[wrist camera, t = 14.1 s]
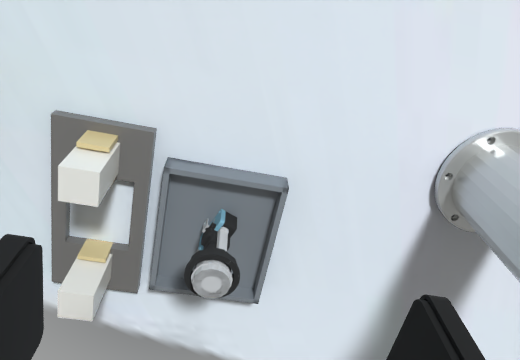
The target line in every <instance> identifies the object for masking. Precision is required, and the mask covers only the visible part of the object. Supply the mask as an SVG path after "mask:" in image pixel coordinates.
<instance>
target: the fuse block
mask: <svg viewBox="0 0 520 360" xmlns="http://www.w3.org/2000/svg"><path fill="white" fill-rule="evenodd" d="M156 129H157V128H151V127H145V126H140V125H134V124H129V123H123V122H118V121H112V120H107V119H101V118H96V117H90V116H85V115H79V114H73V113H68V112H62V111H57V110H56V111H54V112H53V113H52V114H51V216H52V282H59V283H62V284H61V286H60V288H59V290H58V317H60V318H69V319H77V320H84V321H93V319H94V316H95V314H96V312H97V309H98V307H99V305H100V302H101V300H102V297H103V295H104V293H105V290H106V289H112V290H119V291H126V292H134V293H137V292H138V289H139V286H140V276H141V267H142V258H143V249H144V239H145V230H146V221H147V212H148V203H149V193H150V184H151V175H152V166H153V157H154V147H155V138H156ZM115 179H116V180H122V181H129V182H135V183H134V194H133V205H132V216H131V227H130V238H129V245H127V244H120V243H113V242H106V241H100V240H93V239H86V238H79V237H73V236H69V218H70V203H75V204H82V205H88V206H94V207H98V206H99V205H100V203H101V201H102V200H103V198H104V196H105V195H106V193H107V191H108V190H109V188H110V187H111V186H112V184H113V182H114V181H115Z"/></svg>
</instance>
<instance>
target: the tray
mask: <svg viewBox="0 0 520 360" xmlns="http://www.w3.org/2000/svg"><path fill="white" fill-rule="evenodd" d="M288 190H289V186H288V182H287V178H284V177H279V176H273V175H267V174H261V173H255V172H250V171H244V170H238V169H232V168H227V167H221V166H215V165H209V164H203V163H198V162H192V161H186V160H180V159H175V158H169V157H168V158H167V161H166V164H165V166H164V172H163V180H162V188H161V197H160V205H159V213H158V221H157V229H156V238H155V246H154V254H153V262H152V271H151V279H150V287H149V289H152V290H159V291H166V292H174V293H181V294H189V295H196V294H194V293H193V292H192V291H191V290H190V289H189V288H188V287H187V285H186V283H185V280H184V272H185V268H186V265H187V264H188V262H189V261H190V260H191V257H192V256H193V255H194V254H195V253H196V252H197V250H198V247H199V242H200V237H201V235H202V234H203V233H204V232H202V229H203V224H204V223H205V221H206V220H207V219H209V220H208V225H210V223H211V222H212V221H213V219H214V218H215V216H216V215H217V214H218V212H219V211H220V209H223V210H225V211H226V212H228V213H230V214H232V215H234V216H235V217H237V230H236V231H235V233H234V234H233V235H232V236H231V238H230V247H229V249H228V251H227V252H228V253H229V254H230V255H231V256H233V257H234V258H235V259H236V262H237V265H238V267H239V270H240V281H239V284H238V286H237V288H236V289H235V290H234V291H233V292H232V293H231V294H229V295H227V296H225V297H222V298H218V299H225V300H233V301H240V302H247V303H255V304H258V302H259V298H260V295H261V291H262V287H263V283H264V280H265V276H266V272H267V269H268V265H269V261H270V257H271V254H272V250H273V246H274V242H275V239H276V235H277V231H278V227H279V224H280V220H281V216H282V212H283V209H284V205H285V201H286V198H287V194H288ZM205 224H206V223H205ZM194 269H195V266H194V267H193V269H192V271H194ZM231 274H233V271H232V269H231ZM196 296H198V295H196Z"/></svg>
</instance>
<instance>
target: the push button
mask: <svg viewBox="0 0 520 360" xmlns="http://www.w3.org/2000/svg"><path fill="white" fill-rule="evenodd" d="M208 220H209V219H207V220H206V221H205V223H206V224H205V223H204V224H203V229H202V232H204V233H203V234H202V235H201V237H200V242H199V247H198V250H197V252H196V253H195V254H194V255H193V256H192V257H191V260H190V261H189V262H188V264H187V265H186V268H185V272H184V280H185V283H186V285H187V287H188V288H189V289H190V290H191V291H192V292H193V293H194V294H196V295H198V296H200V297H203V298H208V299H217V298H222V297H225V296H227V295H229V294H231V293H232V292H233V291H234V290H235V289H236V288H237V286H238V284H239V281H240V270H239V267H238V265H237V262H236V259H235V258H234V257H233V256H231V255H230V254H229V253H228V252H227V251H228V249H229V247H230V238H231V236H232V235H233V234H234V233H235V231H236V230H237V217H235V216H234V215H232V214H230V213H228V212H226V211H225V210H223V209H220V211H219V212H218V214H217V215H216V216H215V218H214V219H213V221H212V222H211V223H210V225H208ZM194 266H195V269H194V271H192V269H193V267H194ZM231 269H232V271H233V274H231Z"/></svg>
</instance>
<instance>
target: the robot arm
mask: <svg viewBox="0 0 520 360" xmlns="http://www.w3.org/2000/svg"><path fill="white" fill-rule="evenodd" d="M435 199H436V203H437V206H438V208H439V210H440V211H441V213H442V214H443V216H444V217H445V218H446V219H447V220H448V221H449V222H450V223H451V224H453V225H454V226H456V227H457V228H459V229H462V230H465V231H469V232H475V233H478V235H479V236H480V237H481V238H482V239H483V240H484V242H485V243H486V244H487V245H488V246H489V247H490V249H491V250H492V251H493V252H494V253H495V254H496V255H497V257H498V258H499V259H500V260H501V261H502V262H503V264H504V265H505V266H506V267H507V268H508V269H509V271H510V272H511V273H512V274H513V275H514V276H515V277H516V279H517V280H518V281H519V282H520V130H519V129H514V128H499V129H493V130H488V131H485V132H482V133H480V134H477V135H475V136H473V137H471V138H470V139H468V140H466V141H465V142H463V143H462V144H461V145H459V146H458V147H457V148H456V149H455V150H454V151H453V152H452V153H451V154H450V155H449V156H448V158H447V159H446V160H445V162H444V163H443V165H442V167H441V169H440V171H439V173H438V175H437V179H436V183H435ZM43 326H44V325H43V262H42V247H41V245H36V244H35V240H34V238H32V237H25V236H18V235H11V234H6V235H5V236H3V237H2V238H1V240H0V360H31V359H32V357H33V355H34V353H35V351H36V349H37V347H38V346H39V344H40V341H41V338H42V335H43V328H44V327H43ZM386 360H485V358H484V356H483V355H482V353H481V351H480V350H479V348H478V347H477V345H476V343H475V342H474V340H473V338H472V337H471V335H470V333H469V332H468V330H467V328H466V327H465V325H464V324H463V322H462V320H461V319H460V317H459V315H458V314H457V312H456V310H455V309H454V307H453V306H452V304H451V302H450V301H449V300H448V299H447V298H444V297H437V296H431V295H423V296H422V297H421V298H420V299H417V300H415V301H414V302H413V304H412V306H411V308H410V311H409V313H408V315H407V317H406V319H405V321H404V323H403V325H402V328H401V330H400V332H399V334H398V336H397V338H396V340H395V342H394V345H393V347H392V349H391V351H390V353H389V355H388V357H387V359H386Z"/></svg>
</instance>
